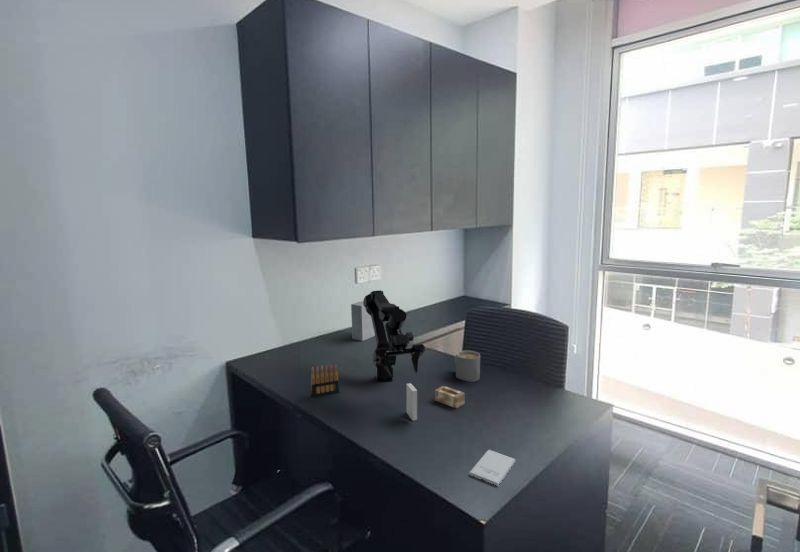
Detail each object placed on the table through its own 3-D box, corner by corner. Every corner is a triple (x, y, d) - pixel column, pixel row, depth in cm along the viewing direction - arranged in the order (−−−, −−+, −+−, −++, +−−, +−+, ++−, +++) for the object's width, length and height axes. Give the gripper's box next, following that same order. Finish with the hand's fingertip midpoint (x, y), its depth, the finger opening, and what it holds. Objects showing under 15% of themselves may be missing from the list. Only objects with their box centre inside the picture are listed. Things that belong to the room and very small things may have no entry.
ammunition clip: (311, 397, 154) (310, 367, 152) (310, 395, 156) (309, 365, 154) (339, 392, 158) (338, 363, 156) (338, 390, 160) (337, 361, 158)
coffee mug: (483, 380, 169) (484, 357, 168) (462, 383, 166) (462, 359, 165) (469, 368, 182) (469, 347, 180) (448, 371, 179) (449, 349, 177)
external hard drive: (515, 464, 114) (498, 488, 104) (487, 454, 119) (469, 476, 109) (515, 459, 114) (498, 483, 104) (488, 449, 119) (469, 471, 109)
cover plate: (406, 413, 142) (406, 383, 140) (410, 413, 142) (410, 383, 140) (412, 422, 136) (412, 391, 134) (417, 421, 137) (417, 390, 135)
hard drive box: (369, 332, 237) (369, 298, 234) (380, 334, 232) (379, 300, 229) (351, 339, 224) (350, 303, 221) (362, 341, 220) (361, 305, 217)
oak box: (434, 401, 151) (434, 390, 150) (443, 396, 154) (443, 385, 154) (456, 409, 144) (456, 397, 144) (464, 404, 148) (464, 392, 147)
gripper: (374, 327, 144) (383, 368, 135) (423, 322, 150) (435, 361, 141) (369, 341, 153) (377, 381, 144) (416, 337, 158) (426, 374, 150)
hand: (404, 374), depth 144 cm, fingers open, 9 cm apart
